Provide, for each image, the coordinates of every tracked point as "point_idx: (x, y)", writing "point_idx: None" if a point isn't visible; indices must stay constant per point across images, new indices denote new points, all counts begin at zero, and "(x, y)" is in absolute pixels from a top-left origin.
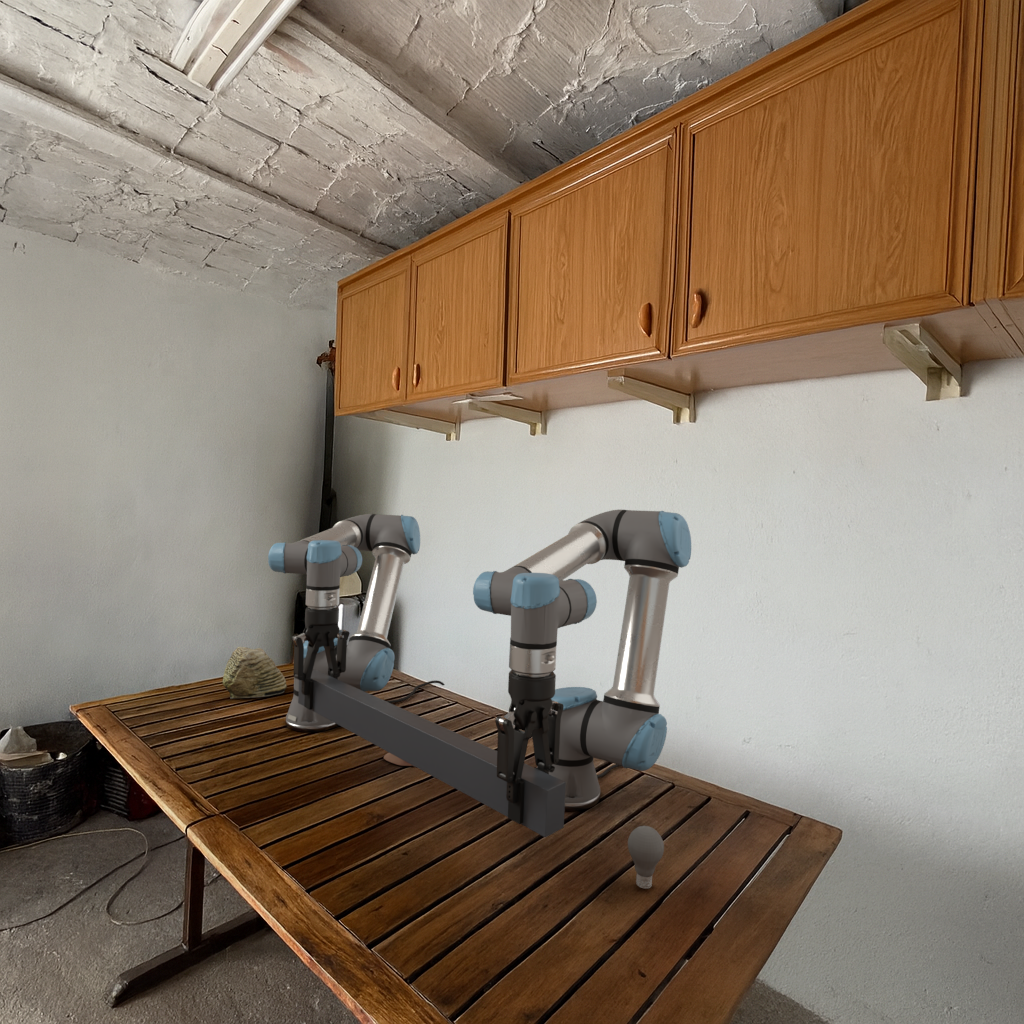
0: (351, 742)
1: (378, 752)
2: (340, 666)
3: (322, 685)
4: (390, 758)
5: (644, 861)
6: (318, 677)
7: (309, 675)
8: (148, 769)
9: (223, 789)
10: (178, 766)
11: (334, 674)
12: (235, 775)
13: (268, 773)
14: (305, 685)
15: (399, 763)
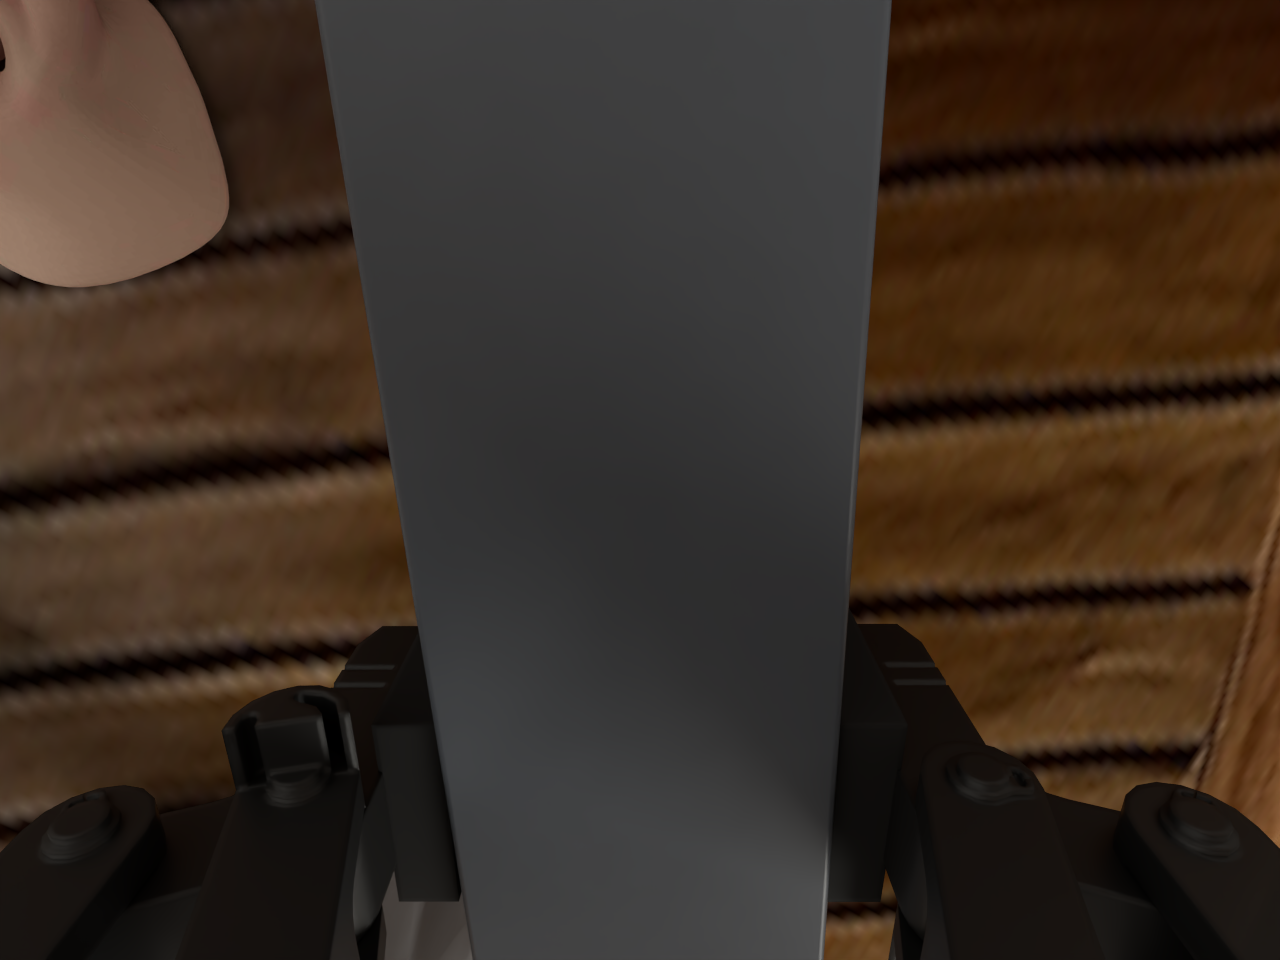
0: (317, 574)
1: (221, 343)
2: (95, 943)
3: (856, 375)
4: (191, 140)
5: None
6: (685, 820)
7: (982, 836)
8: (1273, 818)
9: (1182, 416)
10: (1167, 780)
11: (348, 779)
12: (1040, 540)
13: (902, 462)
14: (946, 720)
15: (159, 29)
